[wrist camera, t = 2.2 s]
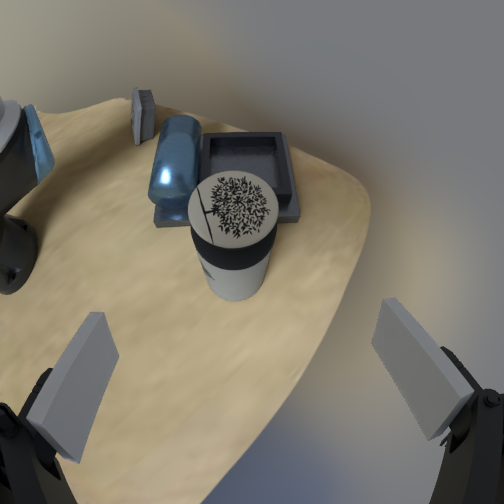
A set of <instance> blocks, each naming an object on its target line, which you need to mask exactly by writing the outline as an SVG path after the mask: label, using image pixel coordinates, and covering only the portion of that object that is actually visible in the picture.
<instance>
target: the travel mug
mask: <svg viewBox="0 0 504 504" xmlns="http://www.w3.org/2000/svg"><path fill="white" fill-rule="evenodd" d="M278 211H279V207H278V201H277V198H276V195H275V193H274V191H273V190H272V188H271V187H270V186H269V185H268V184H267V183H266V182H265V181H264V180H262V179H261V178H259V177H258V176H256V175H253V174H251V173H247V172H243V171H225V172H220V173H217V174H214V175H212V176H210V177H208V178H206V179H205V180H204V181H202V182H201V183H200V184H199V185H198V186H197V187H196V188H195V190H194V191H193V193H192V195H191V197H190V200H189V204H188V216H189V220H190V223H191V235H192V239H193V241H194V244H195V247H196V250H197V253H198V256H199V259H200V262H201V265H202V267H203V270H204V273H205V276H206V279H207V281H208V284H209V286H210V288H211V290H212V291H213V292H214V293H215V294H216V295H217V296H219V297H220V298H222V299H225V300H228V301H242V300H246V299H248V298H250V297H251V296H253V295H254V294H255V293H256V292H257V291H258V290H259V288H260V286H261V284H262V282H263V278H264V275H265V271H266V268H267V264H268V261H269V257H270V254H271V250H272V246H273V243H274V239H275V236H276V231H277V222H276V221H277V218H278Z"/></svg>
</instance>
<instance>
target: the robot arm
mask: <svg viewBox="0 0 504 504" xmlns="http://www.w3.org/2000/svg"><path fill="white" fill-rule="evenodd" d="M54 164H55V160H54V156H53V154H52V151H51V148H50V146H49V143H48V141H47V138H46V136H45V133H44V131H43V128H42V126H41V123H40V120H39V118H38V115H37V113H36V110H35V108H34V106H33V105H32V104H30V105H28V106H25V107H24V108H23V109H21V107H20V105H19V104H18V103H17V102H16V101H14V100H9V101H3V100H2V99H1V97H0V293H2V294H5V295H9V294H12V293H14V292H16V291H17V290H18V289H19V288H20V287H21V286H22V285H23V284H24V283H25V281H26V280H27V278H28V276H29V275H30V273H31V270H32V268H33V265H34V262H35V258H36V254H37V236H36V232H35V230H34V228H33V227H32V226H31V225H30V224H29V223H28V222H27V221H25V220H24V219H22V218H18V217H15V216H12V215H9V214H6V213H7V212H8V211H9V210H10V209H11V208H12V207H13V206H14V205H15V204H17V203H18V202H19V201H20V200H21V199H22V198H23V197H24V196H25V195H26V194H28V193H29V192H30V191H31V190H32V189H33V188H35V187H36V186H37V185H39V184H40V182H41V181H42V180H43V179H44V178H45V177H46V176H47V175H48V174H49V173H50V172H51V171H52V170H53V167H54ZM371 344H372V346H373V347H374V349H375V351H376V352H377V354H378V355H379V357H380V359H381V360H382V362H383V363H384V365H385V367H386V369H387V370H388V372H389V373H390V375H391V377H392V378H393V380H394V382H395V383H396V385H397V386H398V389H399V390H400V392H401V394H402V395H403V397H404V399H405V401H406V402H407V404H408V406H409V408H410V410H411V411H412V413H413V415H414V417H415V418H416V420H417V422H418V424H419V426H420V427H421V429H422V431H423V433H424V435H425V437H426V438H427V440H428V441H429V440H431V439H433V438H435V437H437V436H440V435H441V434H442V433H443V432H444V431H445V430H446V429H447V427H448V426H449V427H450V429H451V431H450V433H449V434H448V435H447V436H446V437H445V438H444V439H443V440H442V442H441V444H440V446H442V445H443V444H444V443H445V442H446V441H447V444H446V445H445V447H446V448H445V453H444V457H443V461H442V465H441V468H440V472H439V475H438V479H437V482H436V485H435V488H434V491H433V494H432V497H431V500H430V503H429V504H504V394H499V393H497V392H496V391H495V390H492V389H484V390H483V389H482V388H481V387H480V385H479V384H478V383H477V382H476V380H475V379H474V378H473V377H472V375H471V374H470V373H469V372H468V370H467V369H466V368H465V367H464V366H463V364H462V363H461V362H460V361H459V360H458V358H457V357H456V356H455V355H454V354H453V352H451V351H450V350H448V349H447V348H445V347H444V346H443V347H439V346H438V345H437V344H436V342H435V341H434V340H433V339H432V338H431V337H430V336H429V334H428V333H427V332H426V331H425V330H424V329H423V327H422V326H421V325H420V324H419V323H418V322H417V321H416V320H415V319H414V318H413V316H412V315H411V314H410V313H409V312H408V311H407V310H406V309H405V308H404V307H403V305H402V304H401V303H400V302H399V301H398V300H397V299H396V298H390V299H383V301H382V305H381V309H380V313H379V317H378V321H377V324H376V328H375V332H374V335H373V338H372V342H371ZM118 358H119V354H118V351H117V349H116V346H115V343H114V341H113V338H112V335H111V332H110V329H109V326H108V323H107V320H106V317H105V314H104V312H90V314H89V315H88V316H87V318H86V319H85V321H84V322H83V324H82V325H81V326H80V328H79V329H78V331H77V332H76V334H75V335H74V337H73V338H72V340H71V341H70V343H69V344H68V346H67V348H66V349H65V351H64V352H63V354H62V355H61V357H60V359H59V360H58V362H57V363H56V365H55V367H54V368H48V369H47V370H46V371H45V372H44V373H43V374H42V375H41V376H40V378H39V379H38V381H37V383H36V385H35V386H34V388H33V390H32V392H31V393H30V395H29V396H28V398H27V400H26V402H25V404H24V406H23V407H22V409H21V411H20V413H19V415H18V416H16V415H15V413H14V412H13V411H12V410H11V408H10V407H9V406H8V405H7V404H5V403H0V504H77V502H76V500H75V498H74V496H73V494H72V492H71V490H70V487H69V485H68V483H67V481H66V479H65V476H64V474H63V472H62V469H61V467H60V464H59V462H58V460H57V458H56V457H55V455H56V452H58V453H59V454H60V455H61V456H62V457H63V458H64V459H67V460H70V461H72V462H75V463H79V464H80V460H81V457H82V454H83V451H84V448H85V445H86V442H87V439H88V436H89V433H90V430H91V427H92V424H93V422H94V419H95V416H96V413H97V411H98V408H99V405H100V403H101V400H102V397H103V395H104V392H105V390H106V387H107V385H108V382H109V380H110V377H111V375H112V373H113V370H114V368H115V365H116V363H117V361H118Z"/></svg>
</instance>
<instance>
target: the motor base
mask: <svg viewBox="0 0 504 504" xmlns="http://www.w3.org/2000/svg"><path fill="white" fill-rule="evenodd" d="M201 131H202V130H201V125H200V123H199V122H198V121H197V120H196V119H195V118H193V117H191V116H187V115H175V116H172V117H170V118H168V119H166V120H165V121H164V123H163V124H162V127H161V131H160V136H159V140H158V144H157V149H156V154H155V158H154V163H153V168H152V173H151V179H150V184H149V190H148V197H149V199H150V200H151V201H152V202H153V203H154V204H156V205H155V213H154V221H153V222H154V224H155V225H156V227H157V228H162V227H181V226H191V223H190V220H189V216H188V204H189V200H190V197H191V195H192V193H193V191H194V190H195V188H196V187H197V186H198V185H199V184H200V183H201V182H202V181H204V180H205V179H206V178H208V177H210V176H212V175H214V174H217V173H220V172H225V171H243V172H247V173H251V174H253V175H256V176H258V177H259V178H261V179H262V180H264V181H265V182H266V183H267V184H268V185H269V186H270V187H271V188H272V190H273V191H274V193H275V195H276V198H277V201H278V207H279V211H278V218H277V221H276V222H277V223H298V220H299V218H300V212H299V206H298V200H297V194H296V189H295V183H294V178H293V172H292V167H291V162H290V157H289V152H288V147H287V142H286V137H285V134H282V133H281V132H228V133H206V134H204V135H201Z"/></svg>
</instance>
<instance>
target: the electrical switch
mask: <svg viewBox="0 0 504 504" xmlns="http://www.w3.org/2000/svg"><path fill="white" fill-rule="evenodd" d="M151 108H152V109H151ZM155 112H156V106H155V103H154V99H153V96H152V92H151V90H138V88H137V87H135V88H133V93H132V106H131V124H132V129H133V135H134V141H135V145H140V141H145V140H148V139H153V132H154V122H155Z"/></svg>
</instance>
